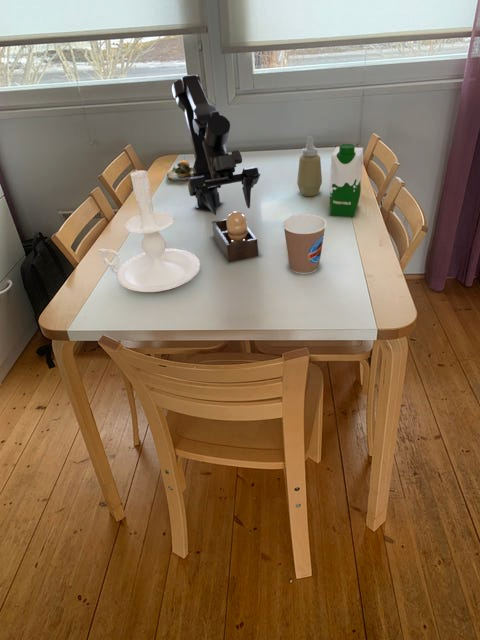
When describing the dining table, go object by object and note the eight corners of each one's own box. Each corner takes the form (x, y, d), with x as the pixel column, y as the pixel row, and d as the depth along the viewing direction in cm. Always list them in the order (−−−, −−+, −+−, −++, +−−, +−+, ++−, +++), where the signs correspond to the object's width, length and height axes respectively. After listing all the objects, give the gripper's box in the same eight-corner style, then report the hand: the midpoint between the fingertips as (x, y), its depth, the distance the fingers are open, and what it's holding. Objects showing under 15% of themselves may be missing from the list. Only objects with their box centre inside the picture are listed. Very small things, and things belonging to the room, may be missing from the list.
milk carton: (326, 216, 140) (329, 148, 129) (332, 204, 147) (335, 138, 135) (356, 218, 138) (362, 149, 126) (360, 206, 145) (366, 139, 133)
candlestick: (120, 258, 129) (93, 155, 112) (208, 259, 125) (195, 152, 108) (90, 301, 112) (54, 188, 96) (191, 303, 109) (172, 186, 92)
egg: (224, 245, 124) (221, 214, 119) (234, 236, 128) (231, 206, 122) (242, 248, 122) (240, 217, 117) (251, 239, 125) (249, 209, 120)
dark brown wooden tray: (228, 262, 123) (226, 245, 120) (213, 237, 135) (211, 221, 132) (258, 256, 124) (257, 239, 121) (241, 232, 136) (239, 216, 133)
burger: (161, 178, 177) (157, 158, 173) (186, 169, 183) (183, 150, 179) (180, 185, 170) (177, 165, 165) (205, 176, 176) (203, 156, 171)
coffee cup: (314, 281, 112) (315, 236, 105) (276, 272, 117) (274, 228, 110) (331, 262, 119) (333, 218, 112) (294, 253, 124) (294, 211, 117)
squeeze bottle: (294, 196, 154) (293, 140, 143) (300, 187, 160) (301, 132, 149) (318, 199, 151) (319, 141, 141) (324, 189, 157) (326, 133, 146)
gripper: (184, 145, 115) (199, 204, 113) (256, 134, 119) (272, 191, 117) (182, 168, 126) (196, 222, 124) (248, 156, 130) (263, 209, 128)
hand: (232, 211), depth 123 cm, fingers open, 9 cm apart
